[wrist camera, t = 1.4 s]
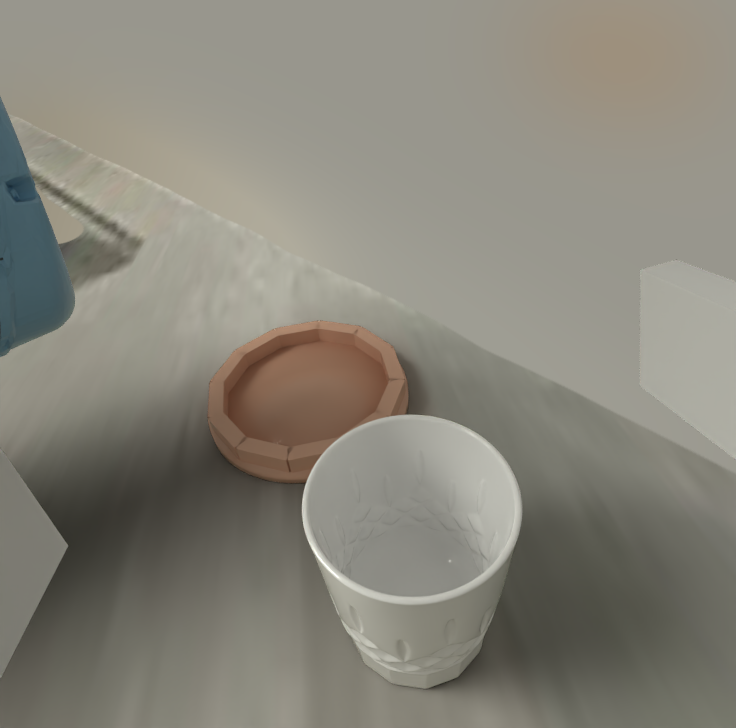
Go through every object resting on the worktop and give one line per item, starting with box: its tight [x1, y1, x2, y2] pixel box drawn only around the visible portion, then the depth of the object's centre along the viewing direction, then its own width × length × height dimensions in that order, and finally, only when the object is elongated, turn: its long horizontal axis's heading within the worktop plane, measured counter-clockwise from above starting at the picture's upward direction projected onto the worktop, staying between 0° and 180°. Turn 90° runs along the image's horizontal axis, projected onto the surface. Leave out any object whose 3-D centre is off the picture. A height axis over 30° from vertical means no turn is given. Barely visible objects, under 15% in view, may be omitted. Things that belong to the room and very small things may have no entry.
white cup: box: [302, 415, 522, 689], centre depth 22 cm, size 8×8×10 cm
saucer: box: [208, 320, 409, 483], centre depth 36 cm, size 14×14×2 cm
